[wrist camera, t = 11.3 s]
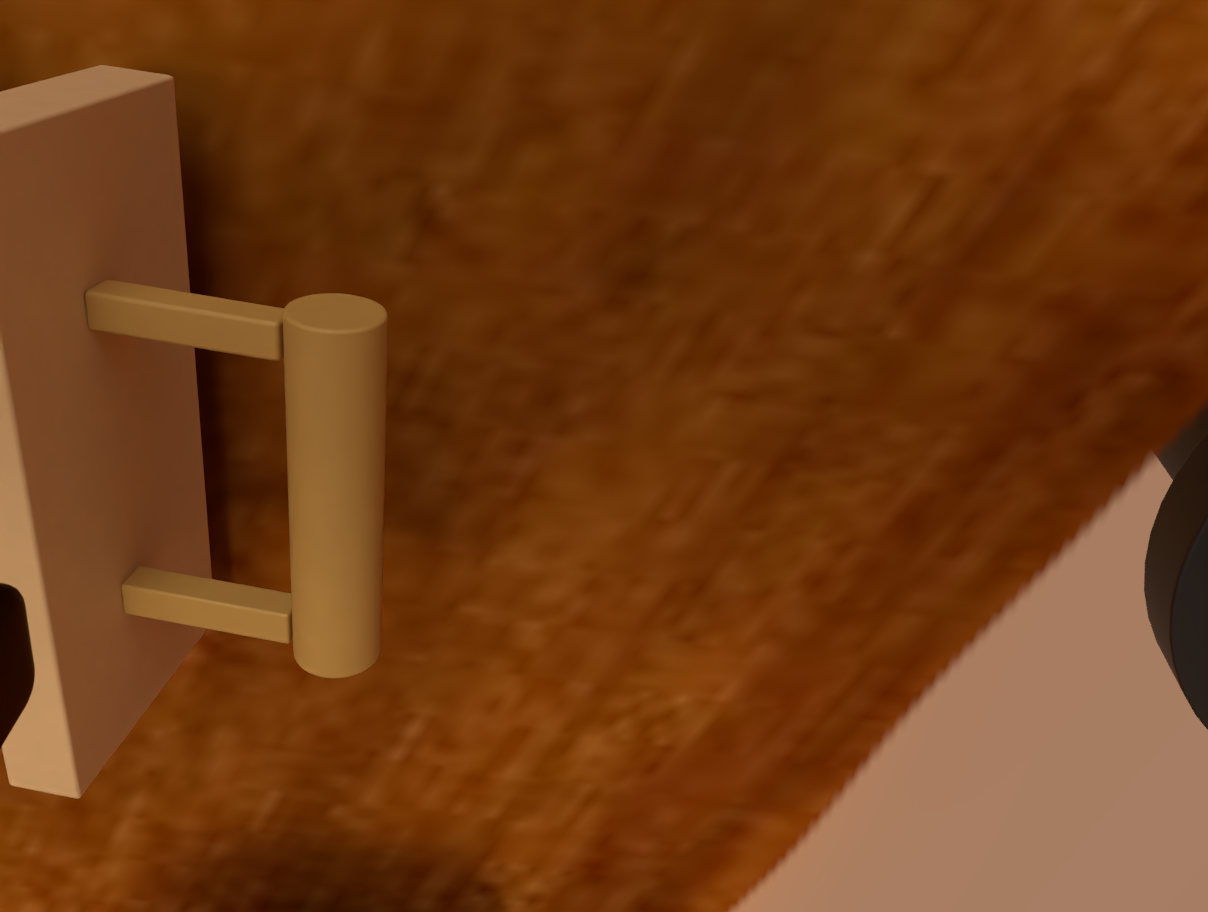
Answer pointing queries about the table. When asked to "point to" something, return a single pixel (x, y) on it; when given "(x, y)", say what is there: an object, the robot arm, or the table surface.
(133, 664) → the drawer
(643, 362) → the table surface
